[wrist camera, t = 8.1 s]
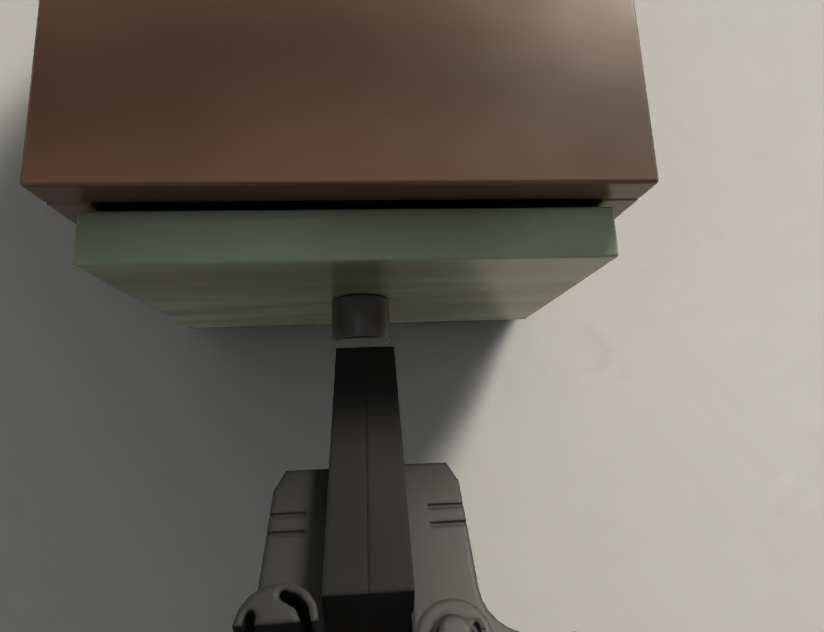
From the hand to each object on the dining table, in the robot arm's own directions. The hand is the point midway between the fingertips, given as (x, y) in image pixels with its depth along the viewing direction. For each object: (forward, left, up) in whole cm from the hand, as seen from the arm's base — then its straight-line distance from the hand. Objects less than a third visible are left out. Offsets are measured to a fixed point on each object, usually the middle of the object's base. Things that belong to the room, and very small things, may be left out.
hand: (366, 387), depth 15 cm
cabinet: (-4, +11, -5) cm, 12 cm away
